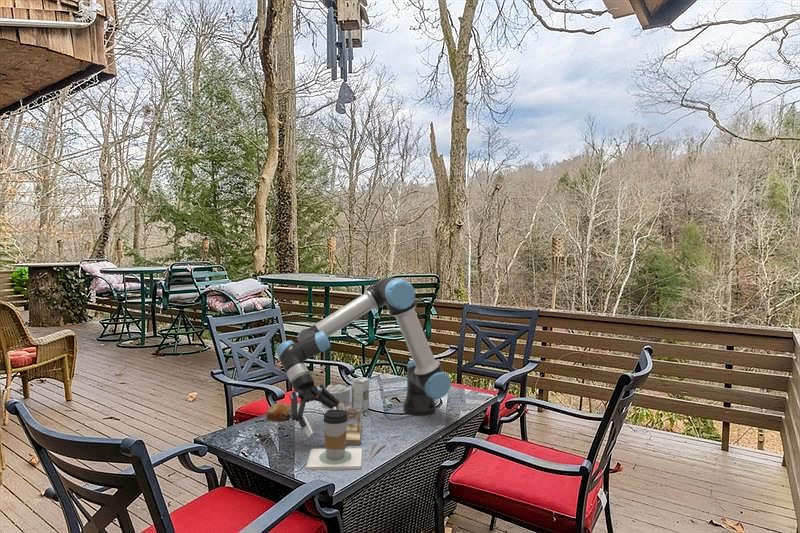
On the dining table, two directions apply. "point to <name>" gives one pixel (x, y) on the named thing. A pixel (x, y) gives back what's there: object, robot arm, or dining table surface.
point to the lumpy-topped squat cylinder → (339, 393)
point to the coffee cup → (335, 433)
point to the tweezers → (376, 451)
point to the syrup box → (360, 394)
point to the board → (321, 461)
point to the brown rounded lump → (278, 412)
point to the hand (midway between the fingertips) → (326, 429)
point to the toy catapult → (353, 428)
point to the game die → (341, 406)
